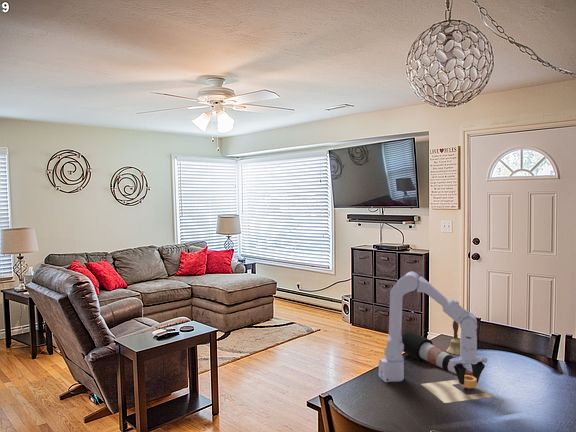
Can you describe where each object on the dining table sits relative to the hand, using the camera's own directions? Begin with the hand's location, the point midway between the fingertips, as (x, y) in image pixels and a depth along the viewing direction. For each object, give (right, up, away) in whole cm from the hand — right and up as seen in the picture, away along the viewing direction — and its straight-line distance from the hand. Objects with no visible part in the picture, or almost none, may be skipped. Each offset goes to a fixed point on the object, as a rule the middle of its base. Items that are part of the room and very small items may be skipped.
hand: (468, 382), depth 162 cm
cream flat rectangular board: (-5, -4, -1) cm, 6 cm away
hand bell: (+11, -2, +42) cm, 43 cm away
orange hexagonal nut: (0, -1, 0) cm, 1 cm away
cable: (-3, -3, +25) cm, 25 cm away
